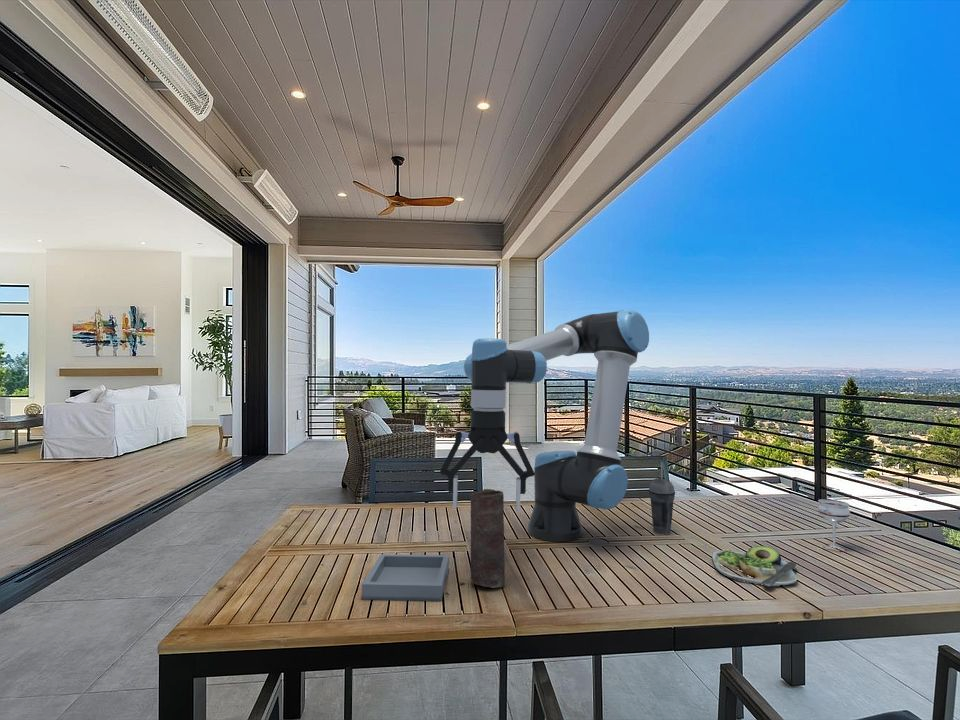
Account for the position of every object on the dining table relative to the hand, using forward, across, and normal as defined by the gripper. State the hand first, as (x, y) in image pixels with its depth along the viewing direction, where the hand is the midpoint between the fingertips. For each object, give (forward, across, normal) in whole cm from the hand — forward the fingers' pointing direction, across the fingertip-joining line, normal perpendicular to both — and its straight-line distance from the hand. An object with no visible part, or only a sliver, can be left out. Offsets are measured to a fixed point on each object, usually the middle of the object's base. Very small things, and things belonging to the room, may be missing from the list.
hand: (486, 508), depth 103 cm
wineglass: (+15, -91, -25) cm, 96 cm away
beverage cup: (+16, -50, -36) cm, 64 cm away
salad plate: (+16, -62, -10) cm, 65 cm away
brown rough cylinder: (+16, 0, 0) cm, 16 cm away
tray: (+16, +17, 0) cm, 23 cm away
